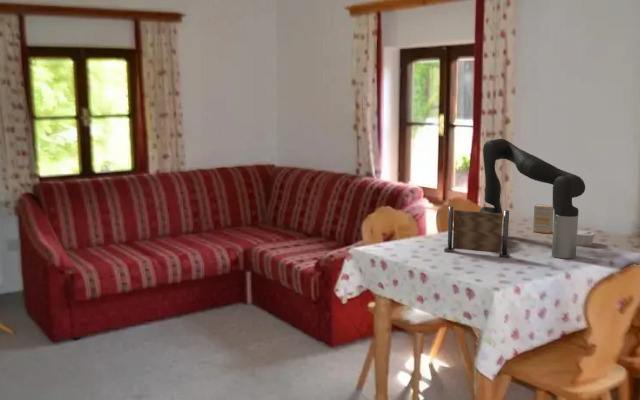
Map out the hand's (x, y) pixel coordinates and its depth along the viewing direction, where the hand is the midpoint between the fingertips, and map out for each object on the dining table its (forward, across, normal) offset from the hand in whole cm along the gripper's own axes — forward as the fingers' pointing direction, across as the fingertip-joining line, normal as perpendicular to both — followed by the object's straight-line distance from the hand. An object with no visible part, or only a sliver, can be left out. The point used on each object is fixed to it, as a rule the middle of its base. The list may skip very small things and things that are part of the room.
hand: (477, 228), depth 280 cm
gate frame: (+6, +1, +9) cm, 11 cm away
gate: (+6, +1, +8) cm, 10 cm away
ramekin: (-32, +40, +9) cm, 52 cm away
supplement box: (-51, +22, +10) cm, 57 cm away
